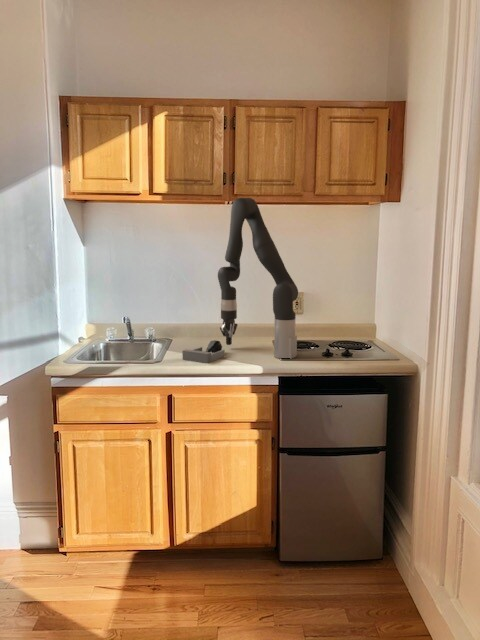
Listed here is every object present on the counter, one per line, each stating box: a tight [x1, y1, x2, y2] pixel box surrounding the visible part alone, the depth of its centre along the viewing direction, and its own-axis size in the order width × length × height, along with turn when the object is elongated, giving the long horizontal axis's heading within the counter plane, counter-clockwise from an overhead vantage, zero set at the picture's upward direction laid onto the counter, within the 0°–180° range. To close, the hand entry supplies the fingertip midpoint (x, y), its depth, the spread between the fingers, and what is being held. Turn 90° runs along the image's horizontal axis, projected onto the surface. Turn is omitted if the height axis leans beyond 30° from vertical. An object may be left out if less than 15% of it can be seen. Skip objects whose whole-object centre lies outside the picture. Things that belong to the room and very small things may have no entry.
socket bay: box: [181, 346, 226, 364], centre depth 225 cm, size 13×14×4 cm
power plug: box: [204, 339, 223, 354], centre depth 231 cm, size 6×8×12 cm
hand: (228, 344), depth 244 cm, fingers closed
